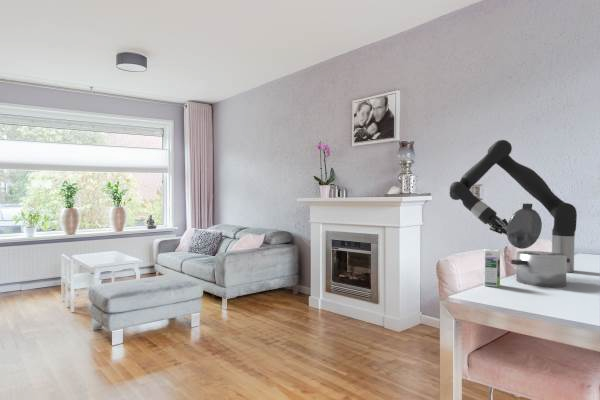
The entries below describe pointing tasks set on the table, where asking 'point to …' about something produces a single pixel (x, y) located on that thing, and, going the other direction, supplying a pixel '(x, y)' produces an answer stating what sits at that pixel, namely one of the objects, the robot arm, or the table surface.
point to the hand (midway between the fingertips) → (513, 237)
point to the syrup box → (492, 267)
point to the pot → (541, 268)
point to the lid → (524, 227)
